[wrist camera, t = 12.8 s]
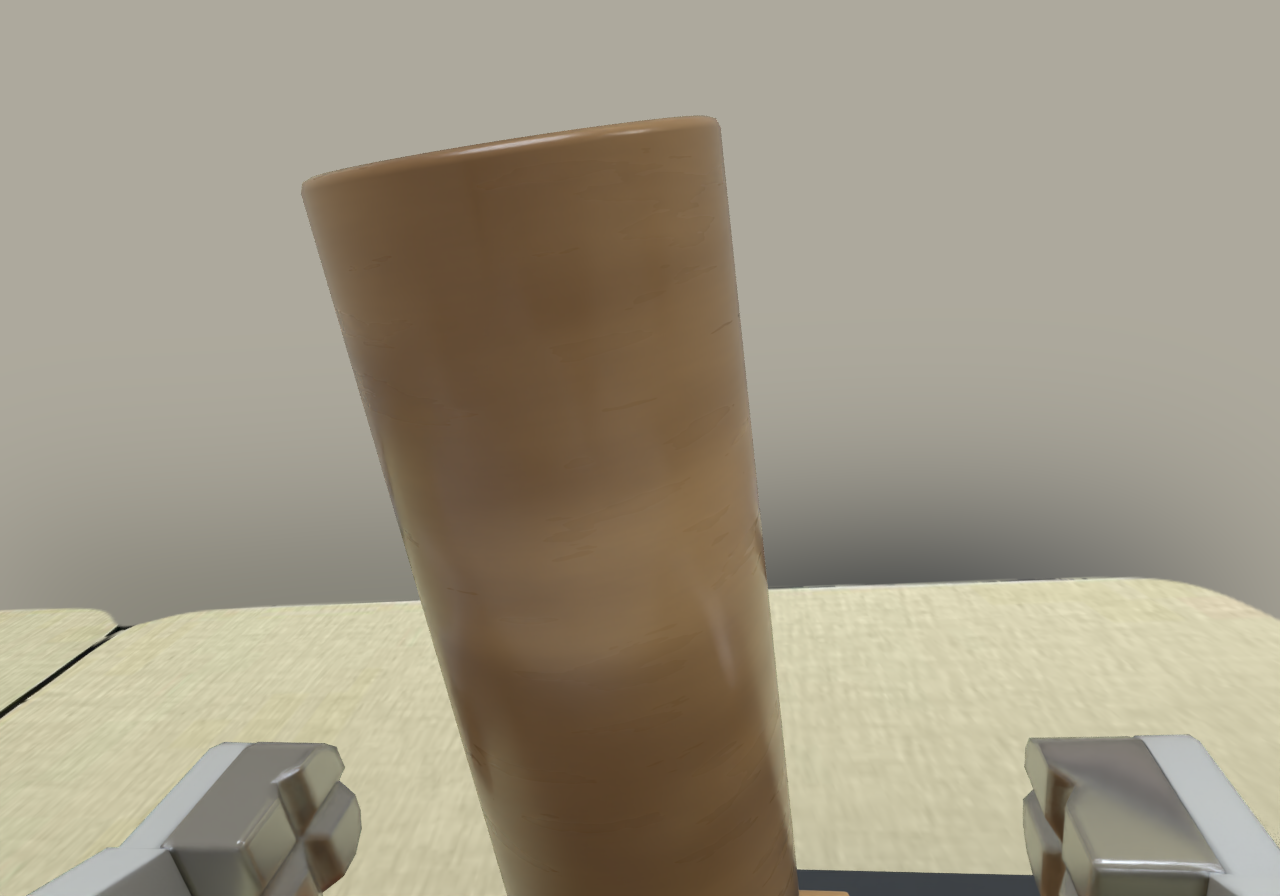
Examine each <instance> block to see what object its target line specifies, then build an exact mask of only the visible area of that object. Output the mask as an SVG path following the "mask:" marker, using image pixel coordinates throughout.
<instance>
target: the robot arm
mask: <svg viewBox="0 0 1280 896" xmlns="http://www.w3.org/2000/svg"><path fill="white" fill-rule="evenodd" d="M1024 767H1025V770H1026V772H1027V774H1028V777H1029V779H1030V782H1031V784H1032V787H1033V790H1032V791H1031V792H1030V793H1029V794H1028V795H1027V796H1026V797H1025V798H1024V799H1023V828H1024V835H1025V842H1026V849H1027V854H1028V858H1029V862H1030V865H1031V869H1032V873H1033V876H1034V879H1035V882H1036V885H1037V887H1038V890H1039V893H1040V896H1280V849H1279V847H1278V846H1277V845H1276V843H1275V842H1274V841H1273V839H1272V838H1271V837H1270V835H1269V834H1268V833H1267V831H1266V830H1265V829H1264V827H1263V826H1262V825H1261V823H1260V822H1259V820H1258V819H1257V818H1256V816H1255V815H1254V814H1253V812H1252V811H1251V810H1250V808H1249V807H1248V806H1247V804H1246V803H1245V802H1244V800H1243V799H1242V797H1241V796H1240V795H1239V793H1238V792H1237V791H1236V789H1235V788H1234V787H1233V785H1232V784H1231V783H1230V781H1229V780H1228V779H1227V777H1226V776H1225V775H1224V773H1223V772H1222V770H1221V769H1220V768H1219V766H1218V765H1217V764H1216V762H1215V761H1214V760H1213V758H1212V757H1211V756H1210V754H1209V753H1208V752H1207V750H1206V749H1205V748H1204V746H1203V745H1202V743H1201V742H1200V741H1198V740H1197V739H1195V738H1194V737H1192V736H1191V735H1144V736H1134V737H1129V736H1121V737H1056V738H1029V740H1028V743H1027V745H1026V749H1025V766H1024ZM344 769H345V766H344V764H343V761H342V759H341V757H340V754H339V752H338V750H337V747H335V746H332V745H328V744H325V743H282V742H257V743H239V742H223V743H221V744H219V745H217V746H214V747H212V748H210V749H209V750H208V751H207V752H206V753H205V754H204V755H203V756H202V757H201V759H200V760H199V761H198V762H197V763H196V764H195V765H194V766H193V767H192V768H191V769H190V771H189V772H188V773H187V774H186V775H185V776H184V777H183V778H182V779H181V780H180V781H179V782H178V784H177V785H176V786H175V787H174V788H173V789H172V790H171V791H170V792H169V793H168V794H167V795H166V797H165V798H164V799H163V800H162V801H161V802H160V803H159V804H158V805H157V806H156V807H155V808H154V810H153V811H152V812H151V813H150V814H149V815H148V816H147V817H146V818H145V819H144V820H143V821H142V823H141V824H140V825H139V826H138V827H137V828H136V829H135V830H134V831H133V832H132V833H131V834H130V836H129V837H128V838H127V839H126V840H125V841H124V842H123V843H122V844H121V845H120V846H119V847H114V848H106V849H104V850H102V851H101V852H99V853H97V854H96V855H94V856H92V857H91V858H89V859H87V860H85V861H84V862H82V863H80V864H79V865H77V866H75V867H74V868H72V869H70V870H69V871H67V872H65V873H64V874H62V875H60V876H59V877H57V878H55V879H53V880H52V881H50V882H48V883H47V884H45V885H43V886H42V887H40V888H38V889H37V890H35V891H33V892H32V893H30V894H28V895H27V896H323V892H324V891H325V890H327V889H328V888H329V887H330V886H332V885H333V884H334V883H336V882H337V881H338V880H339V879H341V878H342V877H343V876H344V875H345V873H346V871H347V869H348V867H349V866H350V864H351V862H352V860H353V858H354V856H355V855H356V851H357V847H358V842H359V838H360V834H361V830H362V826H361V810H360V807H359V804H358V801H357V798H356V796H355V794H354V793H353V792H352V791H350V790H349V789H348V788H347V787H346V786H345V785H344V784H342V783H341V782H340V781H339V780H340V778H341V775H342V773H343V771H344Z"/></svg>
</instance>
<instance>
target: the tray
mask: <svg viewBox="0 0 1280 896" xmlns="http://www.w3.org/2000/svg"><path fill="white" fill-rule="evenodd" d="M797 876H798V886H799V890H814V891H844V892H847V893H848V894H849V896H1040V893H1039V890H1038V887H1037V885H1036V882H1035V879H1034V876H1033V875H1000V874H959V873H918V872H876V871H835V870H797Z"/></svg>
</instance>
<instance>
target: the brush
mask: <svg viewBox="0 0 1280 896" xmlns="http://www.w3.org/2000/svg"><path fill="white" fill-rule="evenodd" d="M301 195H302V198H303V202H304V205H305V208H306V212H307V215H308V218H309V222H310V226H311V229H312V232H313V236H314V239H315V243H316V246H317V249H318V253H319V256H320V260H321V263H322V266H323V270H324V273H325V277H326V280H327V283H328V287H329V290H330V294H331V297H332V301H333V304H334V307H335V311H336V314H337V317H338V321H339V324H340V327H341V331H342V335H343V338H344V341H345V345H346V348H347V352H348V355H349V358H350V361H351V365H352V369H353V372H354V375H355V379H356V382H357V386H358V389H359V392H360V396H361V399H362V403H363V406H364V409H365V413H366V416H367V419H368V423H369V426H370V430H371V433H372V437H373V440H374V443H375V447H376V450H377V454H378V457H379V460H380V463H381V467H382V471H383V474H384V477H385V481H386V484H387V488H388V491H389V494H390V498H391V501H392V505H393V508H394V512H395V515H396V518H397V522H398V525H399V528H400V532H401V535H402V538H403V542H404V546H405V549H406V552H407V556H408V559H409V563H410V566H411V569H412V573H413V576H414V580H415V583H416V586H417V590H418V593H419V597H420V600H421V603H422V607H423V610H424V614H425V617H426V620H427V624H428V627H429V631H430V634H431V637H432V641H433V644H434V648H435V651H436V655H437V658H438V661H439V665H440V668H441V672H442V675H443V678H444V682H445V685H446V689H447V692H448V695H449V699H450V702H451V706H452V709H453V712H454V716H455V719H456V723H457V726H458V729H459V733H460V736H461V740H462V743H463V746H464V750H465V753H466V757H467V760H468V763H469V767H470V770H471V774H472V777H473V780H474V784H475V787H476V791H477V794H478V797H479V801H480V804H481V808H482V811H483V814H484V818H485V821H486V825H487V828H488V832H489V835H490V838H491V842H492V845H493V849H494V852H495V855H496V859H497V862H498V866H499V869H500V872H501V876H502V879H503V883H504V886H505V889H506V893H507V896H849V894H848V893H847V892H844V891H814V890H799V886H798V876H797V867H796V857H795V847H794V838H793V828H792V818H791V808H790V799H789V789H788V779H787V770H786V760H785V750H784V740H783V731H782V721H781V711H780V702H779V692H778V682H777V672H776V663H775V653H774V643H773V634H772V624H771V614H770V604H769V595H768V585H767V575H766V566H765V556H764V547H763V537H762V527H761V517H760V508H759V498H758V488H757V478H756V468H755V459H754V449H753V439H752V431H751V421H750V410H749V402H748V392H747V381H746V371H745V363H744V352H743V342H742V332H741V323H740V313H739V303H738V294H737V284H736V276H735V275H736V274H735V264H734V256H733V246H732V236H731V226H730V216H729V206H728V197H727V187H726V177H725V167H724V158H723V148H722V139H721V128H720V126H719V123H718V122H717V120H716V118H712V117H708V116H683V117H672V118H662V119H653V120H644V121H635V122H627V123H620V124H612V125H604V126H597V127H589V128H582V129H575V130H568V131H561V132H554V133H547V134H540V135H534V136H527V137H521V138H514V139H508V140H501V141H495V142H489V143H482V144H476V145H470V146H464V147H458V148H453V149H446V150H440V151H434V152H429V153H423V154H418V155H412V156H406V157H401V158H395V159H390V160H385V161H379V162H374V163H370V164H364V165H359V166H354V167H350V168H345V169H340V170H336V171H332V172H328V173H324V174H320V175H316V176H314V177H311V178H310V179H308V180H307V181H305V182H303V184H302V190H301Z"/></svg>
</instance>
